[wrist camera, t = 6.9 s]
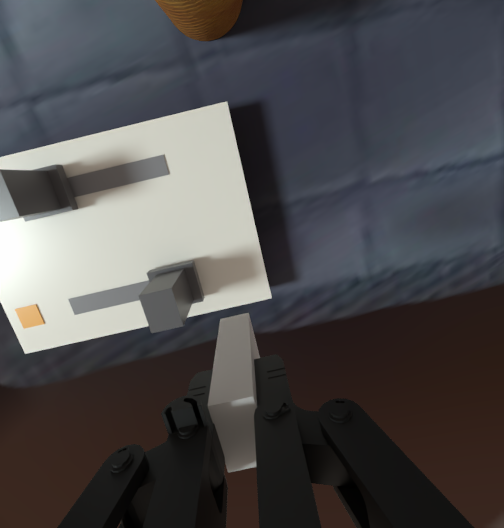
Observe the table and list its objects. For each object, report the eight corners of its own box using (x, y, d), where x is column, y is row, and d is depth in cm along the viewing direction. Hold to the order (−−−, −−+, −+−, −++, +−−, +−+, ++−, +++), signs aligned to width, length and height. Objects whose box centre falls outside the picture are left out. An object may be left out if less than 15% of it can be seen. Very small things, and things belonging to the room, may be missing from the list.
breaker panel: (228, 109, 28) (227, 101, 25) (269, 287, 32) (272, 298, 29) (-31, 172, 29) (-63, 172, 26) (44, 338, 33) (24, 354, 30)
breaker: (62, 164, 26) (9, 161, 20) (78, 209, 26) (33, 218, 21) (14, 176, 26) (-52, 176, 20) (32, 219, 27) (-26, 232, 21)
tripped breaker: (193, 259, 28) (181, 281, 22) (204, 297, 29) (195, 327, 23) (149, 269, 28) (125, 294, 22) (162, 306, 29) (142, 339, 23)
